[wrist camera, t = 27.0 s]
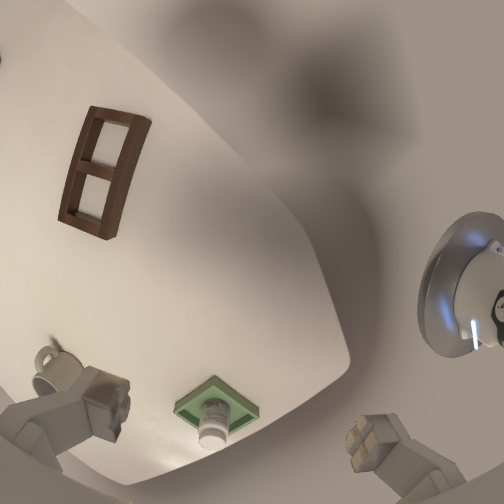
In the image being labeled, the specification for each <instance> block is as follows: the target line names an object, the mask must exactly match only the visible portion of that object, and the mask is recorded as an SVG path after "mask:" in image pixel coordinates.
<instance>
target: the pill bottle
mask: <svg viewBox="0 0 504 504" xmlns="http://www.w3.org/2000/svg"><path fill="white" fill-rule="evenodd" d="M229 419H230V408H229V406H228V404H226V403H225V402H224V401H222V400H218V399H211V400H208V401H206V402H204V404H203V405H202V410H201V416H200V422H199V427H198V433H199V435H200V436H199V444H200V446H201V447H203V448H204V449H207V450H210V451H218V450H221V449H223V448H224V447H225V446H226V439H227V437H228V435H229Z"/></svg>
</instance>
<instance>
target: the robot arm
mask: <svg viewBox="0 0 504 504" xmlns="http://www.w3.org/2000/svg"><path fill="white" fill-rule="evenodd" d="M454 313H455V318H456V320H457V322H458V325H459V337H460V338H462V339H469V338H474V347H475V349H477V348H478V347H477V340H479V341H480V342H482V343H483V344H485V345H486V346H488V347H492V346H496V345H497V344H500V345H501V346H502V347H504V247H503V246H502V245H501V244H500V243H499V242H498V241H496V240H494V239H493V240H491V241H490V243H489V244H488V245H487V247H486V248H485V250H483V251H482V252H481V253H479V254H477V255H476V256H475V257H474V258H473V259H472V260H471V261H470V262H469V264H468V265H467V267H466V268H465V270H464V272H463V274H462V276H461V278H460V280H459V283H458V286H457V289H456V293H455V299H454ZM129 390H130V382H129V381H128V380H126V379H124V378H121V377H118V376H115V375H113V374H110V373H108V372H105V371H102V370H99V369H97V368H94V367H92V366H88V367H86V368H85V370H84V371H83V372H82V373H81V374H80V376H79V377H78V378H77V379H76V381H75V382H74V383H73V384H72V386H71V387H70V388H69V390H68V391H67V392H66V391H64V390H62V391H59V392H56V393H52V394H49V395H45V396H42V397H38V398H35V399H31V400H27V401H24V402H20V403H16V404H12V405H9V406H8V407H7V408H6V409H5V411H4V412H3V413H2V414H1V415H0V504H133V503H130V502H127V501H124V500H121V499H119V498H116V497H113V496H111V495H108V494H105V493H103V492H100V491H98V490H95V489H93V488H91V487H88V486H86V485H84V484H82V483H80V482H77V481H75V480H73V479H71V478H69V477H67V476H65V475H63V474H62V472H63V471H62V468H61V466H60V464H59V462H58V460H57V458H56V456H57V455H58V454H60V453H62V452H64V451H66V450H68V449H70V448H72V447H74V446H76V445H77V444H79V443H81V442H83V441H85V440H86V439H88V438H90V437H92V435H94V436H96V437H99V438H102V439H104V440H107V441H110V442H113V443H116V441H117V438H118V436H119V434H120V432H121V423H123V422H125V421H126V419H127V417H128V413H129V410H130V397H129V395H128V392H129ZM355 424H356V426H355V427H354V428H352V429H351V430H350V431H349V433H348V434H347V436H346V441H345V445H346V450H347V452H348V453H349V454H351V455H352V458H351V460H350V461H351V464H352V467H353V469H354V472H355V473H359V472H369V471H374V473H375V474H376V475H377V476H378V477H379V478H380V479H382V480H383V481H384V482H385V483H386V484H387V485H388V486H389V487H390V488H392V489H393V490H394V491H395V492H396V493H397V494H398V495H399V496H401V497H402V499H401V500H399V501H398V502H397V503H396V504H504V462H503V463H501V464H500V465H498V466H496V467H495V468H493V469H491V470H489V471H488V472H486V473H484V474H482V475H480V476H478V477H476V478H474V479H472V480H470V481H468V482H467V481H466V480H465V478H464V477H463V475H462V474H461V472H460V470H459V469H458V467H457V466H456V464H455V463H454V462H452V461H451V460H449V459H447V458H445V457H444V456H442V455H440V454H438V453H436V452H435V451H433V450H431V449H430V448H428V447H426V446H425V445H423V444H421V443H420V442H418V441H416V440H415V439H413V440H412V439H411V438H410V436H409V435H408V433H407V431H406V429H405V428H404V427H403V424H402V423H401V421H400V420H399V418H398V416H397V415H396V414H394V413H391V414H377V415H361V416H360V417H358V418H357V420H356V421H355Z"/></svg>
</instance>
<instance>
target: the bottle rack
mask: <svg viewBox="0 0 504 504" xmlns="http://www.w3.org/2000/svg"><path fill="white" fill-rule="evenodd" d="M104 122H109V123H113V124H118V125H122V126H126V127H130V128H129V130H128V133H127V136H126V138H125V141H124V144H123V147H122V150H121V153H120V156H119V159H118V162H117V165H116V168H111V167H108V166H105V165H101V164H98V163H95V162H91V158H92V155H93V151H94V148H95V145H96V142H97V139H98V137H99V134H100V131H101V128H102V125H103V123H104ZM150 125H151V121H150V120H148V119H147V118H146V117H144V116H140V115H135V114H131V113H126V112H121V111H117V110H112V109H106V108H101V107H95V106H90V108H89V110H88V113H87V116H86V118H85V121H84V124H83V126H82V129H81V132H80V135H79V138H78V141H77V144H76V147H75V150H74V154H73V157H72V160H71V164H70V168H69V171H68V175H67V179H66V183H65V187H64V191H63V196H62V200H61V205H60V210H59V215H58V221H60V222H63V223H65V224H68V225H70V226H72V227H75V228H77V229H80V230H82V231H84V232H87V233H89V234H92V235H94V236H97V237H99V238H101V239H104V240H109V239H111V238H114V237H116V234H117V230H118V226H119V222H120V218H121V214H122V210H123V207H124V203H125V199H126V196H127V192H128V189H129V186H130V182H131V179H132V176H133V173H134V170H135V167H136V164H137V161H138V158H139V155H140V152H141V149H142V146H143V144H144V141H145V138H146V135H147V133H148V130H149V128H150ZM87 174H89V175H93V176H96V177H99V178H102V179H105V180H108V181H111V185H110V188H109V192H108V196H107V199H106V203H105V207H104V211H103V215H102V219H101V220H99V219H96V218H94V217H91V216H88V215H86V214H83V213H81V212H78V206H79V202H80V198H81V194H82V190H83V186H84V182H85V178H86V175H87Z"/></svg>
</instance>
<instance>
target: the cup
mask: <svg viewBox="0 0 504 504" xmlns="http://www.w3.org/2000/svg"><path fill="white" fill-rule="evenodd" d="M48 355H51V356H52V359H51V360H50V361H49V362H48V363H47V364H46V365H45V366H43V361H44V359H45V357H46V356H48ZM35 367H36V370H37V372H38V373H37V374H36V375H35V376H34V377H33V378H32V386H33V389H34V390H35V392H36V394H37V395H38V396H39V397H42V396H45V395H49V394H52V393H56V392H59V391H62V390H64V391H66V392H67V391H68V390H69V388H70V387H71V386H72V384H73V383H74V382H75V381H76V379H77V378H78V377H79V376H80V374H81V373H82V372H83V371H84V369H83V367H82V365H81V364H80V362H79V361H78V360H77V359H76V358H75V357H74V356H72V355H71V354H69V353H66V352H59V353H58V351H57V350H56V349H55V348H53V347H51V346H46V347H43V348H42V349H41V350H40V351H39V352H38V354H37V355H36V358H35Z"/></svg>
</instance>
